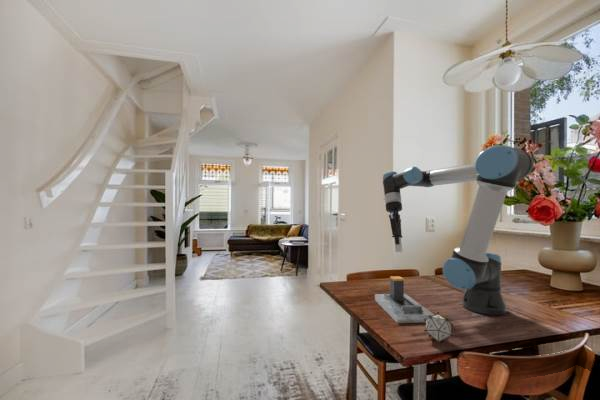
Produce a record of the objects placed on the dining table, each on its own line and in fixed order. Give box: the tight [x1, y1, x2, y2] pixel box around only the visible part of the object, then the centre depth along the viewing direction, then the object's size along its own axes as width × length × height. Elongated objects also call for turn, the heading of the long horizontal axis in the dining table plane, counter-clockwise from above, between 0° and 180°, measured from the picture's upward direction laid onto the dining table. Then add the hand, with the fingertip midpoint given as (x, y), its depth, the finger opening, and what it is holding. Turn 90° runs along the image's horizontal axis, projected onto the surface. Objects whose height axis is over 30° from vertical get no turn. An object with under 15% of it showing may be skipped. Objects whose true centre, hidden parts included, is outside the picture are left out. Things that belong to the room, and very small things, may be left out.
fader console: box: [374, 292, 435, 324], centre depth 112 cm, size 24×14×4 cm, turn 4°
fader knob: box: [389, 275, 405, 301], centre depth 117 cm, size 5×5×9 cm
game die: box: [423, 311, 455, 345], centre depth 87 cm, size 9×8×10 cm
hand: (399, 251), depth 129 cm, fingers closed
